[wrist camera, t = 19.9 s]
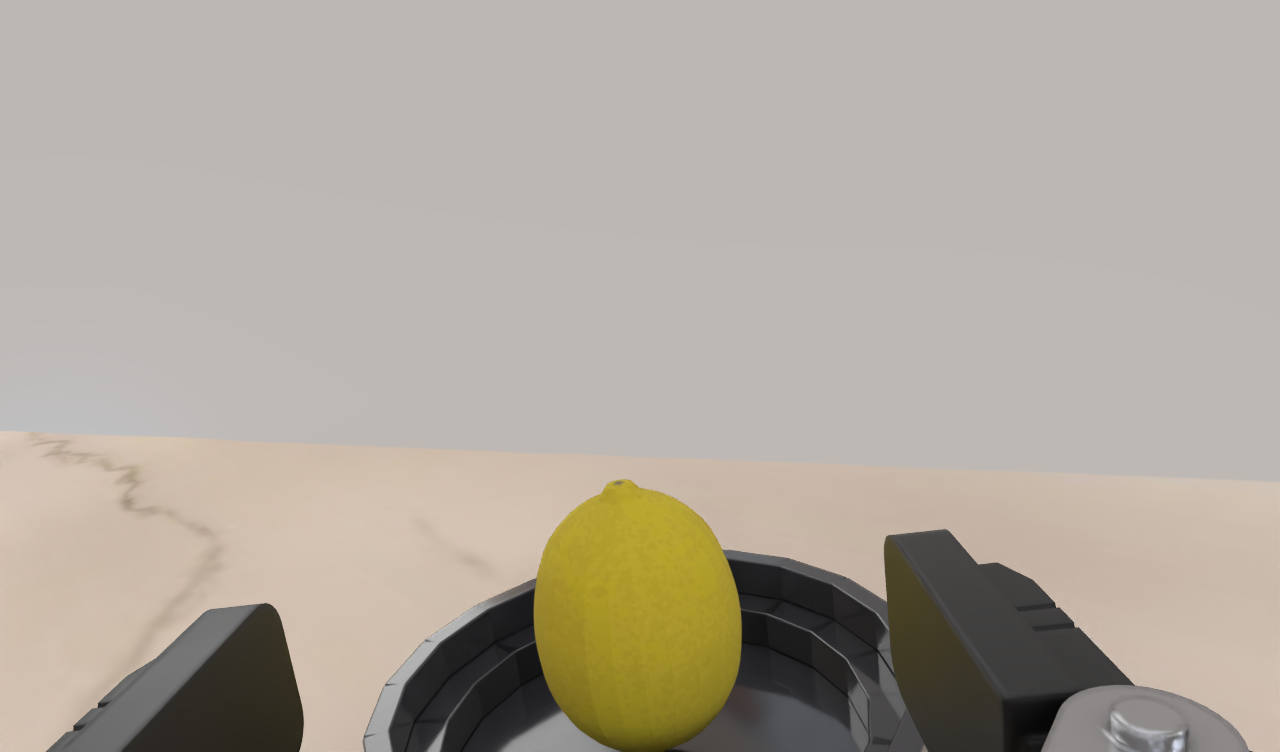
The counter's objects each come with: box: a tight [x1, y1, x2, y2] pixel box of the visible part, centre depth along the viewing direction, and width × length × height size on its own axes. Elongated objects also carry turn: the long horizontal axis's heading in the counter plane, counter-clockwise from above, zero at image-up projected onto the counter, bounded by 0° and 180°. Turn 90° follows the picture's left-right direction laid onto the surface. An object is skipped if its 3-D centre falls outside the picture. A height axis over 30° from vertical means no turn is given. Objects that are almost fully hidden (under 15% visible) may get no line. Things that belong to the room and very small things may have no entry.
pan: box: [363, 550, 928, 752], centre depth 23 cm, size 15×15×3 cm
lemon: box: [534, 480, 742, 752], centre depth 22 cm, size 6×6×8 cm
